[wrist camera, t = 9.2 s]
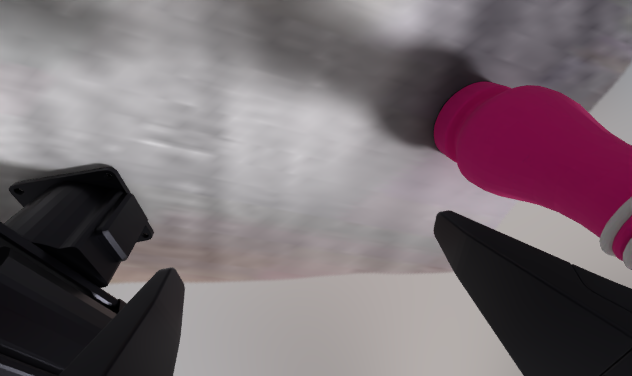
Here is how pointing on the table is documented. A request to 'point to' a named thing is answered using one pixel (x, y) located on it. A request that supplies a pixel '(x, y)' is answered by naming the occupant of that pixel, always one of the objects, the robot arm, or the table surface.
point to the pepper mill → (542, 156)
